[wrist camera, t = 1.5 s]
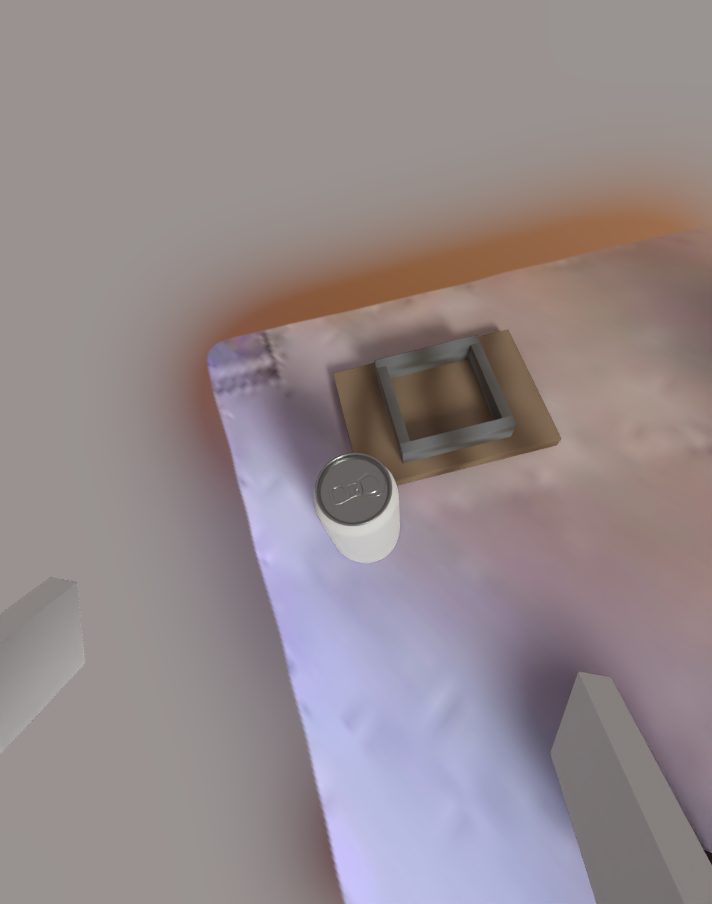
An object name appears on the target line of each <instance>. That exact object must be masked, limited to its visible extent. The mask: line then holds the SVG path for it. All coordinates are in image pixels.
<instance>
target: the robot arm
mask: <svg viewBox="0 0 712 904" xmlns="http://www.w3.org/2000/svg"><path fill="white" fill-rule="evenodd" d="M77 590H78V589H77V582H74V581H69V580H64V579H57V578H52V577H50V578H48V579H47V580H46V581H44V582H43V583H42V584H40V585H39V586H38V587H36V588H35V589H33V590H32V591H31V592H29V593H28V594H27V595H25V596H24V597H22V598H21V599H20V600H18V601H17V602H16V603H14V604H13V605H12V606H10V607H9V608H8V609H6V610H5V611H3V612H2V613H1V614H0V754H1V753H2V752H3V751H4V750H5V749H6V748H7V747H8V746H9V745H10V743H11V742H12V741H13V740H14V739H15V738H16V737H17V736H18V735H19V734H20V733H21V732H22V730H23V729H24V728H25V727H26V726H27V725H28V724H29V723H30V722H31V721H32V720H33V719H34V718H35V716H36V715H37V714H38V713H39V712H40V711H41V710H42V709H43V708H44V707H45V706H46V705H47V704H48V703H49V701H50V700H51V699H52V698H53V697H54V696H55V695H56V694H57V693H58V692H59V691H60V689H62V687H63V686H64V685H65V684H66V683H67V682H68V681H69V680H70V678H72V677H73V675H75V673H76V672H77V671H78V670H79V669H80V668H81V667H82V666H83V665H84V664H85V655H84V646H83V636H82V627H81V618H80V609H79V599H78V591H77ZM550 754H551V757H552V761H553V764H554V767H555V770H556V774H557V777H558V780H559V783H560V787H561V790H562V793H563V796H564V800H565V803H566V806H567V809H568V813H569V816H570V819H571V822H572V825H573V829H574V832H575V835H576V838H577V842H578V845H579V848H580V851H581V855H582V858H583V861H584V864H585V868H586V871H587V874H588V877H589V881H590V884H591V887H592V890H593V893H594V897H595V900H596V903H597V904H712V865H711V863H710V861H709V859H708V857H707V855H706V854H705V852H704V850H703V848H702V846H701V844H700V842H699V841H698V839H697V837H696V835H695V833H694V831H693V829H692V828H691V826H690V824H689V822H688V820H687V818H686V816H685V815H684V813H683V811H682V809H681V807H680V805H679V803H678V802H677V800H676V798H675V796H674V794H673V792H672V790H671V788H670V787H669V785H668V783H667V781H666V779H665V777H664V775H663V774H662V772H661V770H660V768H659V766H658V764H657V762H656V761H655V759H654V757H653V755H652V753H651V751H650V749H649V748H648V746H647V744H646V742H645V740H644V738H643V736H642V735H641V733H640V731H639V729H638V727H637V725H636V723H635V722H634V720H633V718H632V716H631V714H630V712H629V710H628V708H627V707H626V705H625V703H624V701H623V699H622V697H621V695H620V694H619V692H618V690H617V688H616V686H615V684H614V682H613V681H612V679H611V677H606V676H601V675H595V674H590V673H584V672H579V671H578V674H577V677H576V680H575V683H574V686H573V688H572V691H571V694H570V697H569V700H568V703H567V706H566V709H565V712H564V715H563V718H562V720H561V723H560V726H559V729H558V732H557V735H556V738H555V741H554V744H553V747H552V749H551V752H550Z"/></svg>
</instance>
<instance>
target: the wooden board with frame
mask: <svg viewBox="0 0 712 904" xmlns="http://www.w3.org/2000/svg"><path fill="white" fill-rule="evenodd" d="M333 374H334V378H335V382H336V386H337V390H338V394H339V398H340V402H341V406H342V410H343V414H344V418H345V422H346V426H347V430H348V434H349V438H350V442H351V446H352V450H353V453H363V454H367V455H370V456H372V457H374V458H376V459H377V460H378V461H380V462H381V463H382V464H383V465H384V466H385V467H386V468H387V469H388V470H389V471H390V473H391V474H392V476H393V478H394V480H395V482H396V485H400V484H404V483H408V482H412V481H416V480H420V479H424V478H428V477H432V476H436V475H440V474H444V473H448V472H452V471H456V470H460V469H464V468H468V467H472V466H476V465H480V464H484V463H488V462H492V461H496V460H500V459H504V458H508V457H512V456H516V455H520V454H524V453H528V452H532V451H536V450H539V449H543V448H547V447H551V446H555V445H557V444H558V443H559V441H560V440H561V437H560V435H559V433H558V431H557V429H556V426H555V424H554V422H553V420H552V418H551V416H550V414H549V412H548V410H547V408H546V406H545V404H544V402H543V400H542V398H541V396H540V394H539V392H538V390H537V388H536V385H535V383H534V381H533V379H532V377H531V375H530V373H529V371H528V369H527V367H526V365H525V363H524V361H523V359H522V357H521V355H520V353H519V351H518V349H517V347H516V344H515V342H514V340H513V338H512V336H511V334H510V332H509V330H504V331H500V332H496V333H492V334H488V335H484V336H480V337H478V336H477V335H475V336H471V337H467V338H463V339H459V340H455V341H451V342H447V343H443V344H439V345H435V346H431V347H427V348H423V349H419V350H415V351H411V352H407V353H403V354H399V355H395V356H391V357H387V358H383V359H379V360H375V363H372V364H368V365H364V366H360V367H356V368H352V369H348V370H344V371H340V372H336V373H333Z"/></svg>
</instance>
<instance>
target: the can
mask: <svg viewBox="0 0 712 904" xmlns="http://www.w3.org/2000/svg"><path fill="white" fill-rule="evenodd" d="M314 505H315V510H316V513H317V515H318V517H319V519H320V521H321V522H322V524H323V526H324V527H325V529H326V531H327V532H328V534H329V536H330V537H331V539H332V540H333V542H334V543H335V545H336V546H337V548H338V549H339V551H340V552H341V553H342V554H343V555H344V556H346V557H347V558H349V559H351V560H353V561H356V562H360V563H372V562H376V561H378V560H381V559H383V558H384V557H386V556H387V555H388V554H389V553H390V552H391V551H392V550H393V548H394V547H395V545H396V543H397V541H398V537H399V531H400V517H399V496H398V489H397V485H396V482H395V480H394V478H393V476H392V474H391V473H390V471H389V470H388V469H387V468H386V467H385V466H384V465H383V464H382V463H381V462H380V461H378V460H377V459H376V458H374V457H372V456H370V455H367V454H363V453H347V454H343V455H340V456H338V457H336V458H334V459H333V460H331V461H330V462H329V463H327V464H326V465H325V466H324V468H323V469H322V470H321V472H320V474H319V476H318V478H317V481H316V485H315V490H314Z"/></svg>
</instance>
